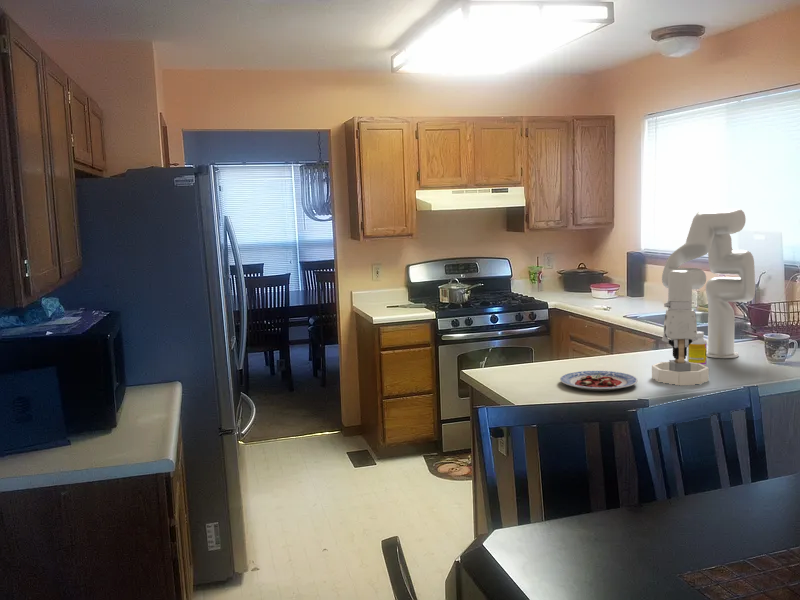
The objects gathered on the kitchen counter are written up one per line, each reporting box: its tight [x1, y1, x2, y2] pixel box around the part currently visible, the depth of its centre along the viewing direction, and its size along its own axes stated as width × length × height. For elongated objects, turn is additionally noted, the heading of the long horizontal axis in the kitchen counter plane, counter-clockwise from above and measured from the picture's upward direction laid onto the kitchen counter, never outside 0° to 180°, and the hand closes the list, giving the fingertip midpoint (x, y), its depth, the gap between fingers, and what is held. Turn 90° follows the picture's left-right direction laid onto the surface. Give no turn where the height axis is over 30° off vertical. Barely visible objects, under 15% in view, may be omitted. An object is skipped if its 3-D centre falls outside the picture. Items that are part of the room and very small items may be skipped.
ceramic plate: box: [559, 370, 639, 392], centre depth 233 cm, size 26×26×3 cm
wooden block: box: [674, 339, 685, 363], centre depth 234 cm, size 3×2×12 cm, turn 179°
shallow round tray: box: [651, 359, 710, 386], centre depth 234 cm, size 17×17×6 cm
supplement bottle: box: [686, 330, 708, 367], centre depth 254 cm, size 7×7×13 cm
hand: (679, 358), depth 234 cm, fingers closed on wooden block, 1 cm apart
